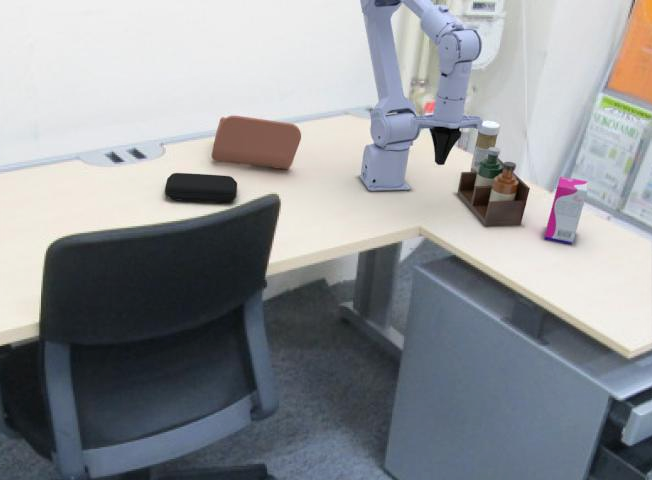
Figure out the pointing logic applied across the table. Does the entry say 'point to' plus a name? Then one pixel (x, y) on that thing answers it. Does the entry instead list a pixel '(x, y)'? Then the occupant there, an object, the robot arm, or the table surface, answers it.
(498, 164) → the dark green bottle
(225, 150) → the brown block
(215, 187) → the carrying case
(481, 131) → the sprinkles bottle
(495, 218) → the rack
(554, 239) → the supplement box
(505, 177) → the amber bottle
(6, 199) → the table surface
